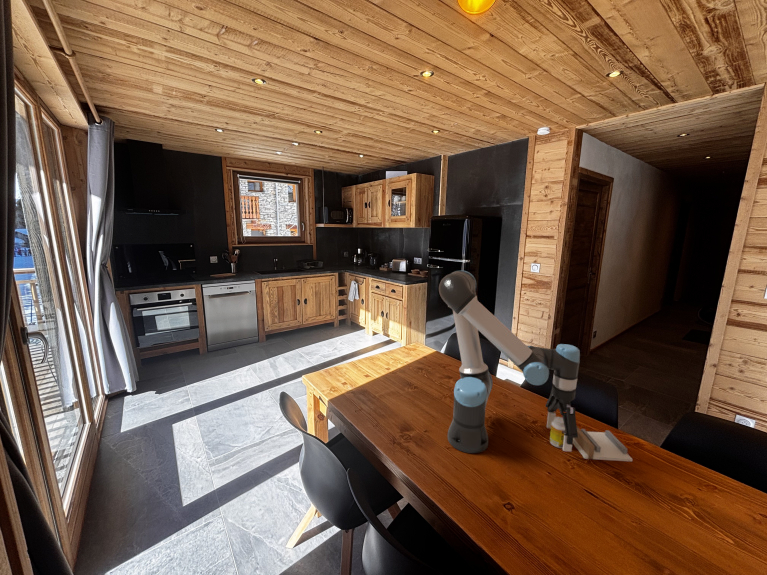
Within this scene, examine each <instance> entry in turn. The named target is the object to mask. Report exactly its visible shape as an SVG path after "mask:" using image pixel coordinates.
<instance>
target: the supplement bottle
mask: <svg viewBox="0 0 767 575" xmlns="http://www.w3.org/2000/svg"><path fill="white" fill-rule="evenodd" d="M564 433H566V431H565V426H564V421H563V417H562V416H556V417H555V418H554V421H553V422H552V423H551V428H550V432H549V434H550V435H549V443H550V444H551V445H552V446H554V448H558V449H563V442H564Z"/></svg>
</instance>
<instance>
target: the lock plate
mask: <svg viewBox="0 0 767 575" xmlns="http://www.w3.org/2000/svg"><path fill="white" fill-rule="evenodd" d="M577 433H578V438H573V443H572V445H574V448H576V449H577V451H578V452H579V453H580V455H582V457H583V459H586V460H597V461H598V460H601V461H602V460H603V461H616V462H617V461H619V462H633V458H632V457H631V456H630V455H629V453H628V448H627V447H626V446H625V445H624V444H623V443H622V441H620V440H619V439H618V438H617V437H616V436H615V435H614V434H613V433H612V432H611V431H610V430H606V429H605V431H604V432H601V431H586V429H585V428H581V429H580V428H579V427H578V426H577Z"/></svg>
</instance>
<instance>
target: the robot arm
mask: <svg viewBox="0 0 767 575" xmlns="http://www.w3.org/2000/svg"><path fill="white" fill-rule="evenodd" d="M476 290H477V281H476V278H475V276H474V275H473V274H472V273H470V272H469V271H466V270H455V271H453V272H451V273H449V274H447V275H445V276H444V277H443V278H442V279H441V280H440V283H439V285H438V292H439V295H440V296H439V297H441V299H442V300H443V302H444V303H445V304H446V305H447V307H448V308H450V309H451V310H452V314H453V315H452V316H453V320H454V326H455V331H456V338H457V342H458V349H459V353H460V361H461V366H459V370H458V371H459V376H460V378H459V379H458V380H457V381H456V383H455V384H454V389H453V411H452V412H453V414H452V415H453V416H452V421H451V423H450V425H449V428H448V431H447V441H448V442H449V445H451V446H452V447H453V448H454V449H456V450H457V451H460V452H463V453H466V454H467V453H468V454H479V453H481V452H482V453H483V452H484V451H486V449H487V448H488V446H489V436H488V432H487V429H486V425H485V422H486V408H487V402H488V400H489V396H490V394H491V392H492V390H493V383H494V382H493V378H492V375H491V373H490V372H489V367H488V365H487V364H486V363H485V362H484V359H483V352H482V348H481V341H480V336H479V332H480V333H481V335H483V336H484V337H485V338H486V339H487V340H488V341H489V342H490V343H491V344H492V345H493V346H494V347H496V348H497V349H498V351H500V352H501V353H502V354H503V355H504V356H505V357H506V358H507V359H508V360H509V361H510V362H511V363H513V364H514V365H515V366H516V367H517V368H518V369H519V370H520V371H521V372H522V374H523V377H524V379H525V381H527V383H528V384H531V385H533V386H543V385H544V384H545V383H546V382H547V381H548V379H549V375H550V370H553V378H552V386H551V390H550V395H549V397H548V399H547V401H546V402H545V407H546V408H547V418H546V428H547V429H551V423H552V422H553V421H554V418H555V417H557V410H559V414H560V415H561V417H562V418H563V421H564V426H565V431H566V433H564V442H563V448H562V451H563V452H572V451H573V450H572V449H573V438H578V433H577V427H578V426H577V418H576V407H572V406H571V402H573V401H574V400H576V392H577V391H576V388H577V382H578V380H579V379H578V376H579V375H578V374H579V367H580V361H581V360H580V357H581V356H580V355H581V353H580V352H581V350H580V349H579V348H578V347H576V346H574V345H573V344H564V343H560V344H557V346H556V348H546V347H542V346H541V347H539V346H534V345H527V344H526V343H524V342H523V341H522V340H521V339H520V338H519V337H518V336H517V335H516V334H515V333H513V331H511V330H510V329H509V328H508V327H507V326H506V325H505V324H504V323H503V322H502V321H500V320H499V319H498V318H497V316H495V315H494V314H493V313H492V312H490V311H489V310H488V309H487V308H486V307H485V306H484V305H483V304H482V303H481V302H479V300H478V295H477V293H476Z"/></svg>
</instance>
